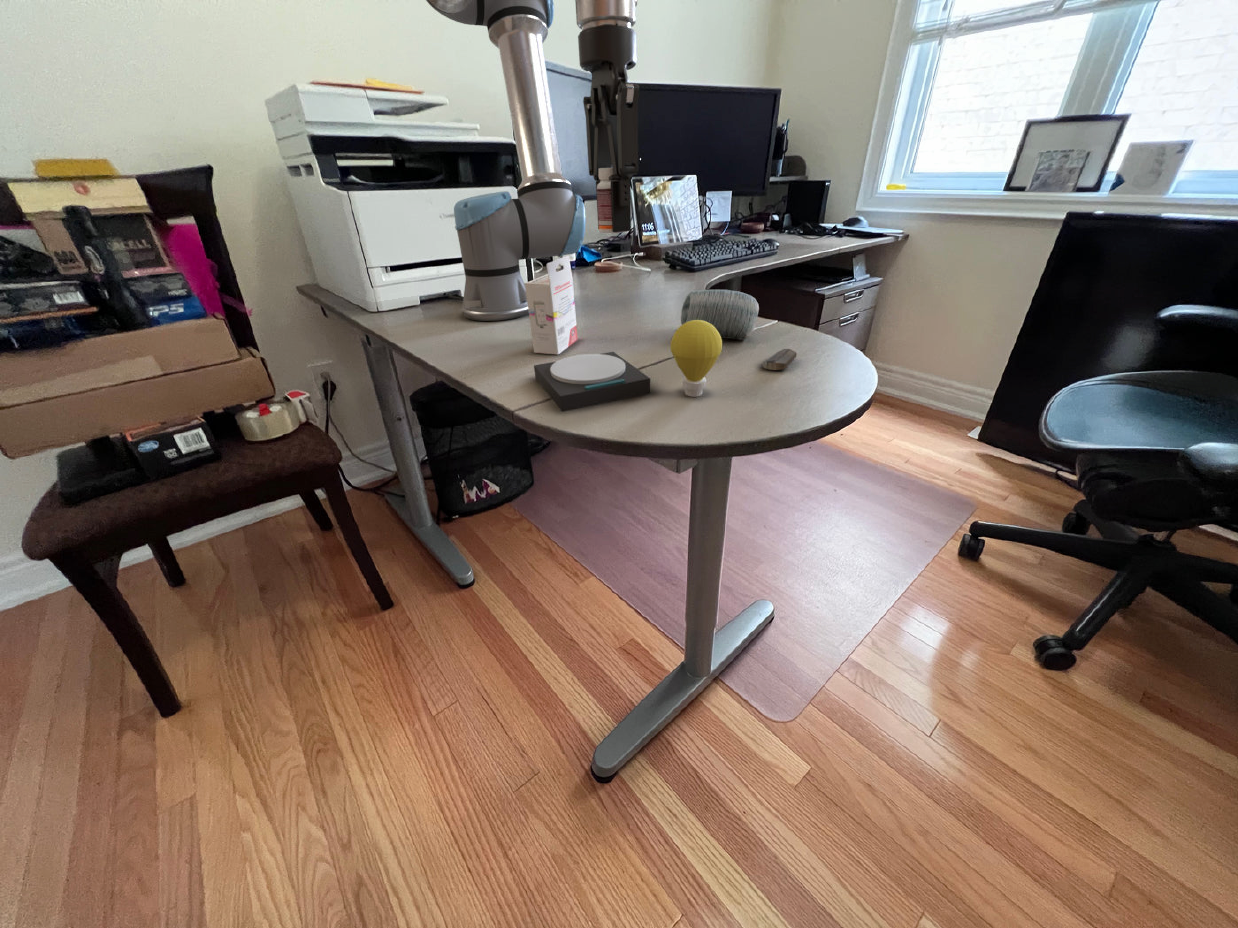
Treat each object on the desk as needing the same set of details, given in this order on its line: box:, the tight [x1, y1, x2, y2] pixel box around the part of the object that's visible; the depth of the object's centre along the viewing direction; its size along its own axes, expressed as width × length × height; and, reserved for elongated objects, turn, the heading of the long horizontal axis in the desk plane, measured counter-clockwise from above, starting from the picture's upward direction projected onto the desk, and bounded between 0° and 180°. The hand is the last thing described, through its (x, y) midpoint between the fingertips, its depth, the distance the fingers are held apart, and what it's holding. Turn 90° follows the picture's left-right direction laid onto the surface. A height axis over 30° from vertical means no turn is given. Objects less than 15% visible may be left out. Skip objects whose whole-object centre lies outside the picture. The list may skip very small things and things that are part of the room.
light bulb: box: [670, 320, 723, 398], centre depth 65 cm, size 7×7×10 cm
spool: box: [680, 289, 760, 341], centre depth 88 cm, size 14×10×10 cm
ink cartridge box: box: [524, 255, 578, 356], centre depth 84 cm, size 9×5×15 cm, turn 160°
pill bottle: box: [596, 168, 628, 234], centre depth 73 cm, size 5×5×8 cm
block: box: [762, 348, 797, 371], centre depth 76 cm, size 4×6×2 cm, turn 145°
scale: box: [533, 351, 651, 412], centre depth 71 cm, size 13×13×3 cm
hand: (614, 229), depth 75 cm, fingers closed on pill bottle, 5 cm apart
